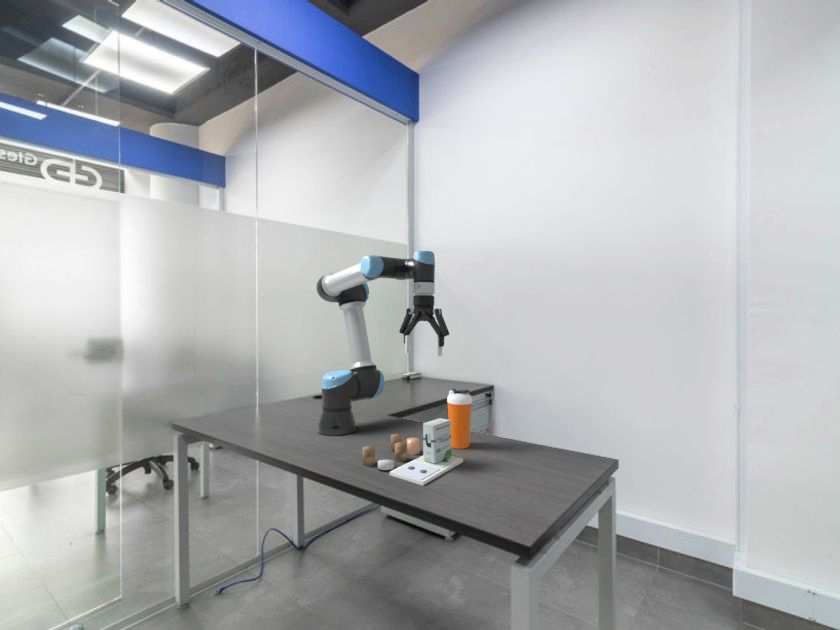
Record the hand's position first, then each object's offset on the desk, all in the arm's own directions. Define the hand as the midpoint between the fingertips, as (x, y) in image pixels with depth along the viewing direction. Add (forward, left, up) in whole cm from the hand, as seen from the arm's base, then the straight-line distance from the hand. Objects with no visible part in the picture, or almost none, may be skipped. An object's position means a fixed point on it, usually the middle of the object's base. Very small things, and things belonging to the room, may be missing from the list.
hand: (423, 354), depth 148 cm
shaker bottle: (+11, +7, -33) cm, 35 cm away
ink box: (+14, -11, -31) cm, 36 cm away
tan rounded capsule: (-3, -25, -32) cm, 41 cm away
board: (+14, -17, -32) cm, 39 cm away
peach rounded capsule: (+2, -8, -33) cm, 33 cm away
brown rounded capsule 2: (+3, -16, -32) cm, 36 cm away
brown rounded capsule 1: (-4, -10, -32) cm, 34 cm away
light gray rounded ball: (+4, -25, -32) cm, 41 cm away
